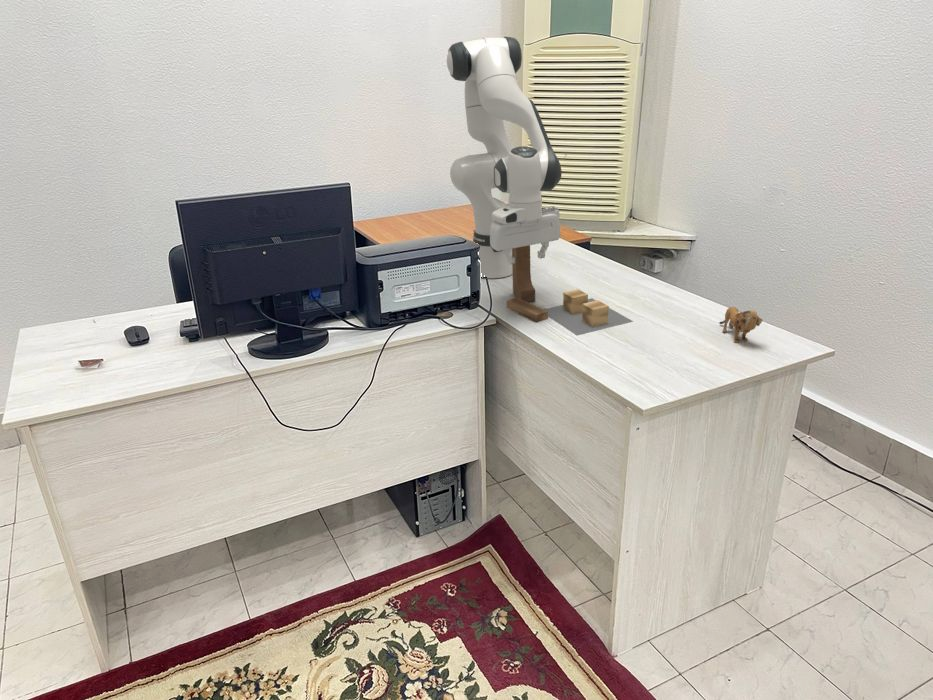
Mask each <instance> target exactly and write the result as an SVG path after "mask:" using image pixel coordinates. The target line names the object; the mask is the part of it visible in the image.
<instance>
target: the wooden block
mask: <svg viewBox="0 0 933 700" xmlns="http://www.w3.org/2000/svg"><path fill="white" fill-rule="evenodd" d="M512 257H514V258H515V264H512V273H513V274H512V295H513V296H514V298H520V299H522V300H524V301H526V302H528V303H531V304H533V303H535V302H536V288H535V286H534V285H533V281H532V276H531V275H532V274H531V245H529V246H523V247H518V248H513V249H512Z"/></svg>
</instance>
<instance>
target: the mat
mask: <svg viewBox="0 0 933 700" xmlns="http://www.w3.org/2000/svg"><path fill="white" fill-rule="evenodd" d="M592 301H597V300H596V299H594V298H592V297H591V298H588V302H592ZM543 309H544V308H543ZM544 310H546V311H548V318H549V319H551V320H553V321H554V322H555V323H557V324H559V325H560V326H562V327H563V328H565V329H566V330H568V332H570V333H572V334H574V335H575V336H580V335H585V334H588V333H592V332H596V331H600V330H605V329H609V328H613V327H616V326H620V325H624V324H628V323H632V322H634V321H633V320H632V319H630V318H628V317H627V316H624V315H623V314H621V313H619V312H618V311H615V310H613V308H611V307H609V310H608V323H606V324H602V325H598V326H594V327H592V326H590V325H588V324H587V323H585V322H584V321H582V312H581V313H577V314H573V315H572V314H571V313H569V312H568V311H566V310H564V309H563V304H561V305H557V306H552V307H548V308H545V309H544Z"/></svg>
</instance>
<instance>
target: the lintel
mask: <svg viewBox="0 0 933 700" xmlns="http://www.w3.org/2000/svg"><path fill="white" fill-rule="evenodd" d="M506 309H508V310H510V311H512V312H514V313H516V314H517V315H520V316H522V317H524V318H526V319H528V320H531V321H533V322H535V323H540V322H543V321H546V320H549V317H548V311H546V310H544V308H542V307H540V306H537V305H535V304H533V303H528V302H526V301H524V300H522V299H520V298H516V297H514V298H511V299H508V300H506Z"/></svg>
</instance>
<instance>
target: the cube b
mask: <svg viewBox="0 0 933 700" xmlns="http://www.w3.org/2000/svg"><path fill="white" fill-rule="evenodd" d="M609 308H610V307H609V305H608V304H606V303H604V302H602V301H601V300H598V299H597V300H596V301H592V302H588V303H584V304H583V308H582V321H584V322H585V323H587V324H588V325H590V326H592V327H594V326H598V325H602V324H606V323H608V310H609Z"/></svg>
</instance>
